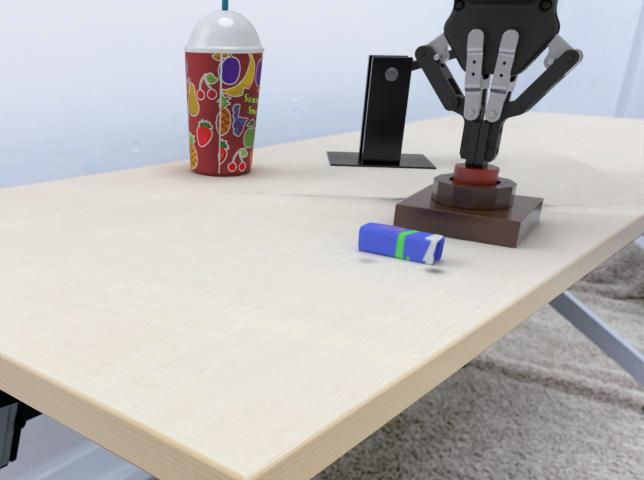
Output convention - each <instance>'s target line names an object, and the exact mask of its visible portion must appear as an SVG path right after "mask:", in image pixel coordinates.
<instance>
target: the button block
mask: <svg viewBox="0 0 644 480" xmlns="http://www.w3.org/2000/svg"><path fill="white" fill-rule="evenodd" d="M453 174H454V172H450V173H440V174H438V175H436V176H434V177H433V181H432V184H431V183H430V184H429V185H428V186H426V187H424V188H422V189H420V190H419V191H417V192H415V193H413V194H411V195H409V196H408V197H406V198H404V199H402V200H400V201H399V202H397V203H395V207H394V216H393V223H392V226H397V227H402V228H406V229H411V230H416V231H420V232H426V233H431V234H437V235H442V236H444V238H448V239H453V240H461V241H467V242H473V243H478V244H486V245H491V246H497V247H504V248H510V249H517V248H518V247H519V245H520V244H521V243H523V241H524V240H525V238H527V236H529V234H530V233H531V232H532V231H533V229H534V228H535V227H536V226H537V225H538V224H539V223H540V219H541V214H542V209H543V205H544V198H543V197H536V196H527V195H519V194H516V191H517V186H518V183H517V182H515V181H514V180H512V179H510V178H506V177H502V176H498V182H497V185H491V186H483V185H468V184H461V183H457V182H453Z"/></svg>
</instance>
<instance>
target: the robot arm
mask: <svg viewBox="0 0 644 480" xmlns="http://www.w3.org/2000/svg"><path fill="white" fill-rule="evenodd" d="M558 5H559V0H453V6H452V10H451V12H450V14H449V16H448V18H446V20H445V22H444V25H443V31H442V33H441V34H439V35H438V36H436V37H434V39H432V40H431V41H429V42H428V43H426V44H424V45H420V46H418V47H417V48H416V49H415V51H414V58H415V60H417V61H418V63H419V65H420V67H421V70H422V72H423V73H424V75H425V77H426V79H427V80H428V81H427V82H429V84H430V86H431V87H432V89H433V91H434V93H435V95H436V96H437V98H438V100H439V101H440V103H441V105H442V108H443V109H444V110H446V111H448V112H453V113H455V114H458V115H459V116H460V117H461V118H463V129H462V136H461V142H460V145H459V146H460V148H459V157H460V159H461V160H465V162H464V163H465V166H466V167H475V168H485V167H486V166H488V164H490V163H491V162H493V161H495V160H496V158H497V157H498V155H499V152H500V146H501V141H502V135H503V130H504V125H505V123H506V121H507V120H508V119H510V118H513V117H517V116H521V115H524V114H526V113H528V112H529V111H531V109H533V108H534V107H535V106H536V105H537V104H538V103H539V102H540V101H541V100H542V99H543V98H544V97H545V96H546V95H547V94H548V93H550V91H551V90H553V89H554V88H555V87H556V86H557V85H558V84H559V83H560V82H561V81H562V80H563V79H565V77H567V76H568V75H569V74H570V73H571V72H572V71H573V70H574V69H576V67H577V66H578V65H579V64H580V63H581V62H582V61H583V58H584V53H583V51H582V50H581V49H579V48H574V47H573V46H571V44H570V43H569V42H567V40H565V38H563V37H562V36H561V35H560V32H561V31H560V30H561V21H560V19H559V16H558ZM449 48H450V50H451V49H452V51H453V53H454V55H455V57H456V58H455V59H456V61H457V63H458V64H459V67H460V68H461V70H462V71H463V72H464V73H465V75H464V91H465V92H464V93H465V94H464V93H463V91H462V90H461V89H462V88H460V85H459V84H458V82H457V80H456V79H455V77H454V76H453V73H452V72H451V70H450V68H449V67H448V65H447V63H448V62H449V61H450V60H449V52H448V50H449ZM547 48H548V53H547V55H546V56H545V57H544V59H543V66H544V68H545V70H544V71H543V72H542V73H541V74H540V75H539V76H538V77H537V78H536V79H535V80H534V81H533V82H532V83H531V84H529V85H528V87H527V88H526V89H525V90H524V91H522V93H520V94H519V95H518V96H517V98H515V99H514V100H511V99H512V96H513V93H514V90H515V88H516V84H517V81H518V78H519V75H521V74H523V73H524V72H525V71H527V69H529V67H530V66H531V65H532V64H533V63H534V62H535V61H536V60H537V59H538V58H539V57H540V56H541V55H542V53H544V51H546V49H547ZM489 90H490V91H489ZM488 95H489V96H488Z"/></svg>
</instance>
